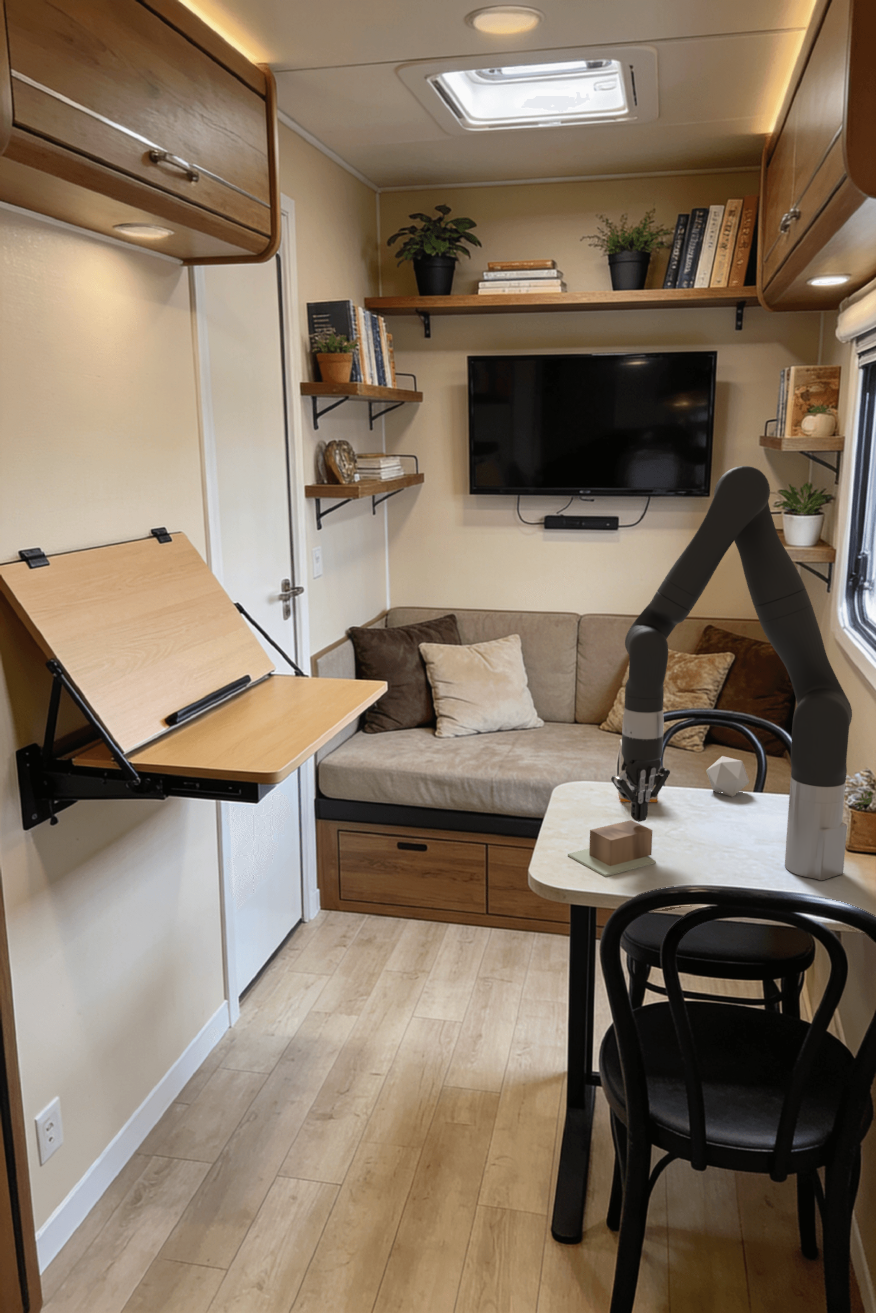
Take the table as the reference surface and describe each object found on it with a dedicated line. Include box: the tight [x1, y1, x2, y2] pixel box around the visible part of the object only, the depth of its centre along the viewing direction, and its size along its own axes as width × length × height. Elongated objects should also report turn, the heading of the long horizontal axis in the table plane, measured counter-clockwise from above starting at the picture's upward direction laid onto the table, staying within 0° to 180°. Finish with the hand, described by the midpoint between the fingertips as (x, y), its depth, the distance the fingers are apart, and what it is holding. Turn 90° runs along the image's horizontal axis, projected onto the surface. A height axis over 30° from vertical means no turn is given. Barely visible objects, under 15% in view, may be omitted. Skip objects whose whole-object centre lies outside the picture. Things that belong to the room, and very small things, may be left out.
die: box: [705, 755, 750, 798], centre depth 222 cm, size 8×9×10 cm
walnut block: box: [588, 819, 653, 866], centre depth 187 cm, size 6×5×10 cm
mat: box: [567, 848, 657, 878], centre depth 186 cm, size 11×12×1 cm
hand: (639, 819), depth 188 cm, fingers closed
